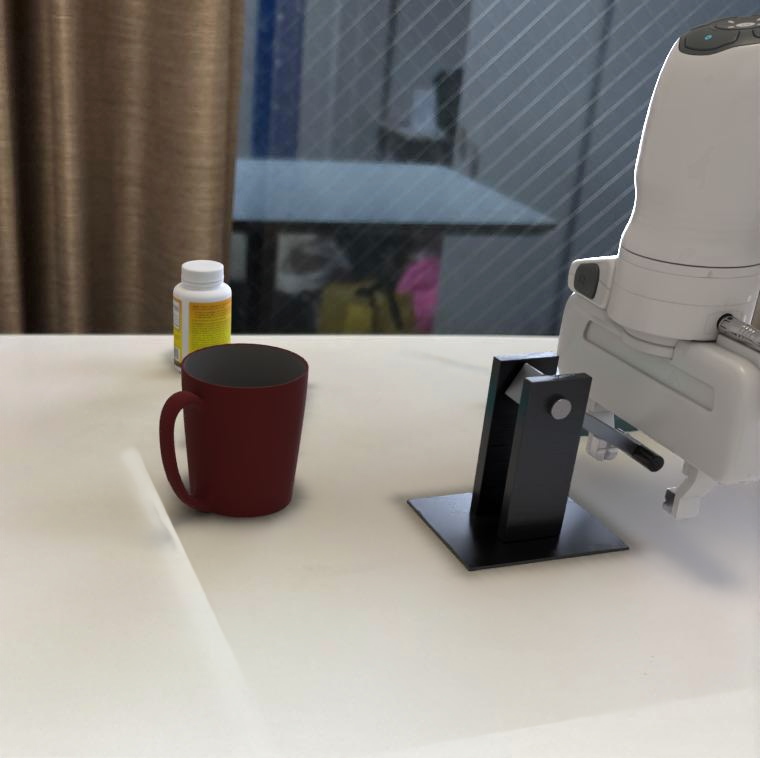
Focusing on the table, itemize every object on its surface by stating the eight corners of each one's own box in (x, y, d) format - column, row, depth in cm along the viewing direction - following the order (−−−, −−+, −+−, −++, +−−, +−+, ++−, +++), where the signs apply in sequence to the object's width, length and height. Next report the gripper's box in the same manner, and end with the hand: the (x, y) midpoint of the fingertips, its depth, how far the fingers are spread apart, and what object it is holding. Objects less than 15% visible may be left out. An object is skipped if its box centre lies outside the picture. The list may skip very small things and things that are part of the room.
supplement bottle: (241, 368, 103) (244, 265, 98) (204, 383, 99) (205, 276, 94) (199, 355, 106) (200, 254, 101) (161, 369, 102) (160, 265, 97)
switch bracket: (549, 496, 80) (581, 335, 73) (626, 562, 71) (669, 386, 65) (405, 513, 77) (424, 347, 71) (467, 584, 69) (495, 402, 62)
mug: (209, 563, 70) (210, 411, 65) (124, 517, 76) (119, 373, 70) (324, 506, 78) (335, 366, 72) (240, 468, 83) (244, 335, 78)
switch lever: (609, 452, 76) (630, 424, 75) (651, 482, 72) (673, 453, 71) (493, 385, 70) (514, 355, 70) (531, 413, 66) (553, 381, 66)
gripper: (843, 342, 60) (777, 549, 67) (632, 252, 77) (597, 425, 84) (750, 351, 58) (692, 562, 65) (556, 257, 75) (526, 432, 82)
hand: (637, 484), depth 75 cm, fingers open, 8 cm apart
